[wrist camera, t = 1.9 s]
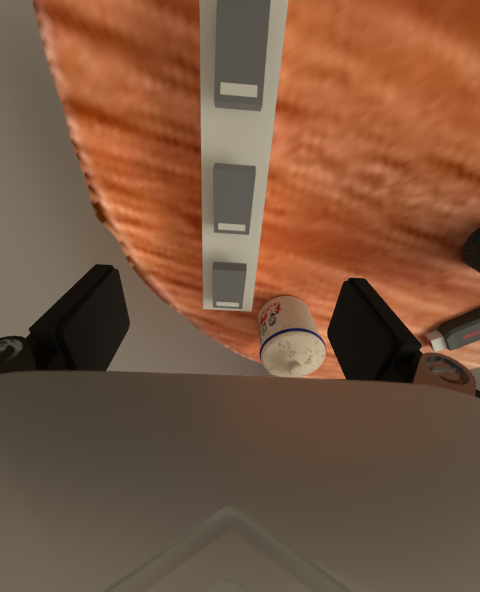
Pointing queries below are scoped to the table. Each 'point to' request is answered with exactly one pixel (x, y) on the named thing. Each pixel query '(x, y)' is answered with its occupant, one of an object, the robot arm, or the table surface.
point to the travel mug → (472, 251)
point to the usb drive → (456, 332)
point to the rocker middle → (233, 197)
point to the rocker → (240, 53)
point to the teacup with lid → (289, 338)
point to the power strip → (236, 149)
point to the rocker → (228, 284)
